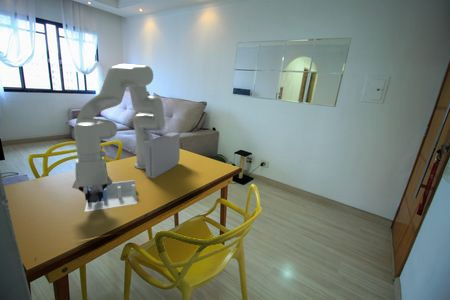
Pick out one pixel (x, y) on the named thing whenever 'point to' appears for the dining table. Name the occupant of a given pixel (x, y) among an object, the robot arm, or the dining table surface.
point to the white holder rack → (115, 196)
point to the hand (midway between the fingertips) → (94, 200)
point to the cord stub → (94, 194)
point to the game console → (162, 154)
